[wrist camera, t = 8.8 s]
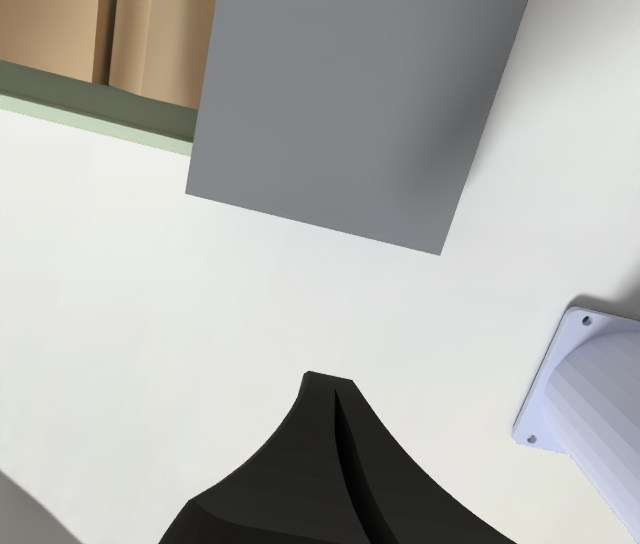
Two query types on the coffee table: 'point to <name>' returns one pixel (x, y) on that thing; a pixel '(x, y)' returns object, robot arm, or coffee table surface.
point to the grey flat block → (350, 110)
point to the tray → (97, 108)
